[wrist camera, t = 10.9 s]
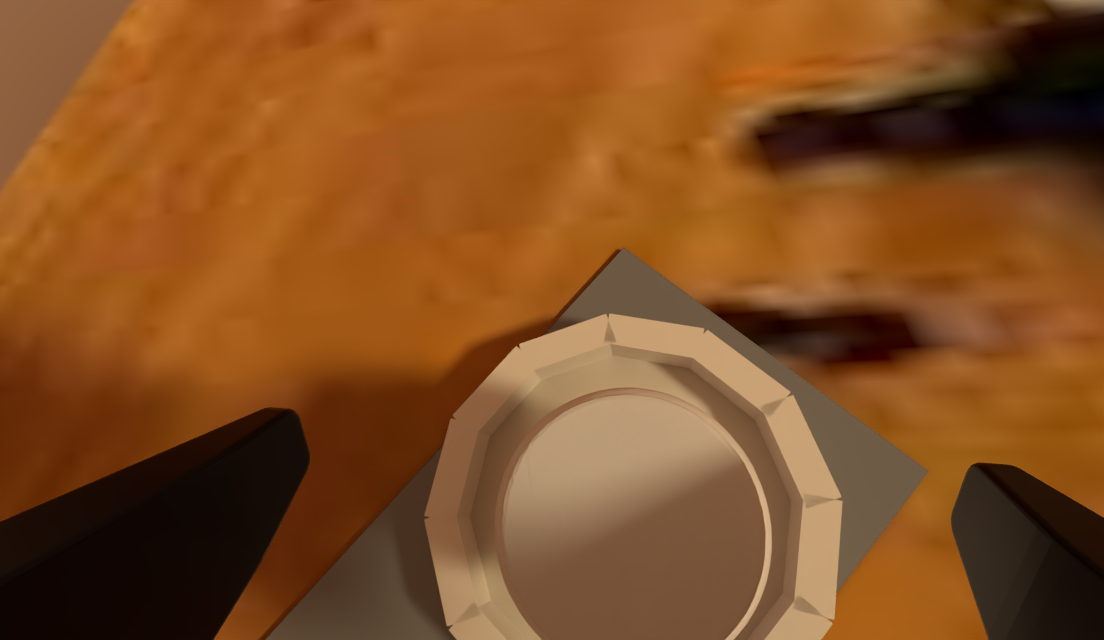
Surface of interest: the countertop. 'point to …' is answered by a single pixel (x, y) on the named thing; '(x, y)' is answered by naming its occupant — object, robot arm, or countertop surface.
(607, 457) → the pill bottle
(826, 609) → the dish
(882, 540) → the countertop surface
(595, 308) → the placemat
